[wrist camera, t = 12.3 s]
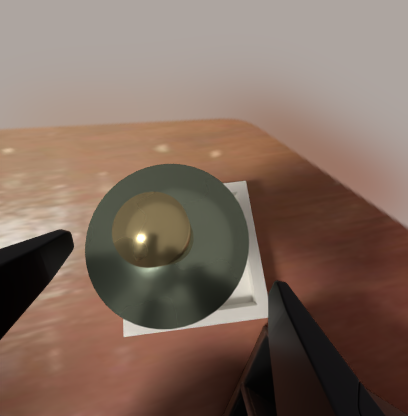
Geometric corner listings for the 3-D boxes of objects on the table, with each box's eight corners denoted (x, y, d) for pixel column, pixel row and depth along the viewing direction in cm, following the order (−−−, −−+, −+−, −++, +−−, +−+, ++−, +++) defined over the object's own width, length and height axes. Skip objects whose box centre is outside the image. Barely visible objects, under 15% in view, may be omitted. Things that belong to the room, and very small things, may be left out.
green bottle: (199, 291, 18) (180, 437, 3) (155, 260, 18) (-27, 264, 4) (228, 244, 19) (311, 194, 4) (185, 216, 19) (130, 92, 5)
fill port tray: (263, 310, 18) (271, 316, 16) (133, 327, 18) (123, 337, 16) (241, 188, 21) (245, 180, 19) (129, 201, 21) (121, 195, 19)
